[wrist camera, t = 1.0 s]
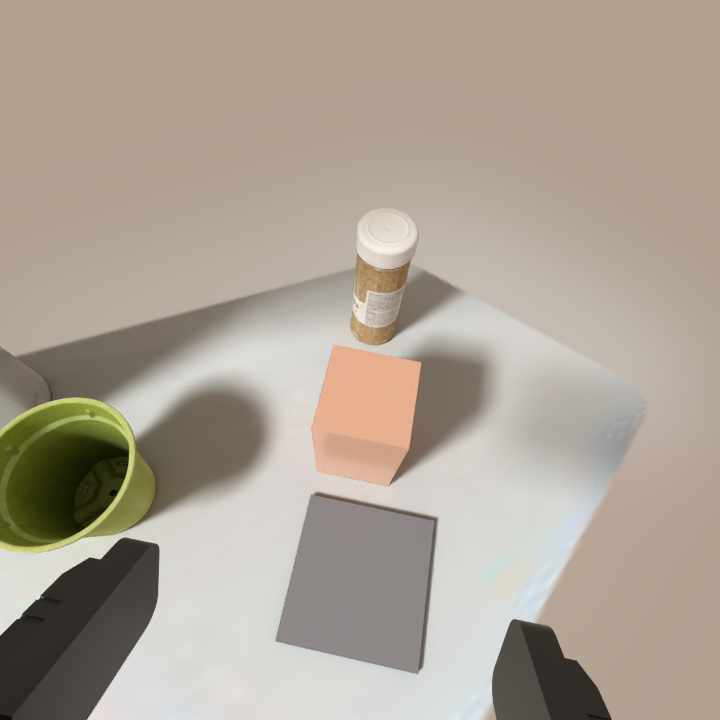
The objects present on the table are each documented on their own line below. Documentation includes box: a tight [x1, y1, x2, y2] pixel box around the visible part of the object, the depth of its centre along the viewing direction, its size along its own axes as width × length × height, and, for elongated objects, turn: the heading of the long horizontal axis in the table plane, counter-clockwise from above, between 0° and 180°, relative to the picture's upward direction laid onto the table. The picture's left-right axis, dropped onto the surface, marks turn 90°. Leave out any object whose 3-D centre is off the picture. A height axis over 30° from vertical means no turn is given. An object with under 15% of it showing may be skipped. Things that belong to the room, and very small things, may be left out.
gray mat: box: [275, 495, 434, 674], centre depth 31 cm, size 10×10×1 cm
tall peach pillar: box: [311, 345, 421, 486], centre depth 31 cm, size 6×6×11 cm
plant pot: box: [0, 397, 156, 553], centre depth 29 cm, size 9×9×9 cm
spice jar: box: [350, 208, 418, 345], centre depth 36 cm, size 5×4×14 cm
